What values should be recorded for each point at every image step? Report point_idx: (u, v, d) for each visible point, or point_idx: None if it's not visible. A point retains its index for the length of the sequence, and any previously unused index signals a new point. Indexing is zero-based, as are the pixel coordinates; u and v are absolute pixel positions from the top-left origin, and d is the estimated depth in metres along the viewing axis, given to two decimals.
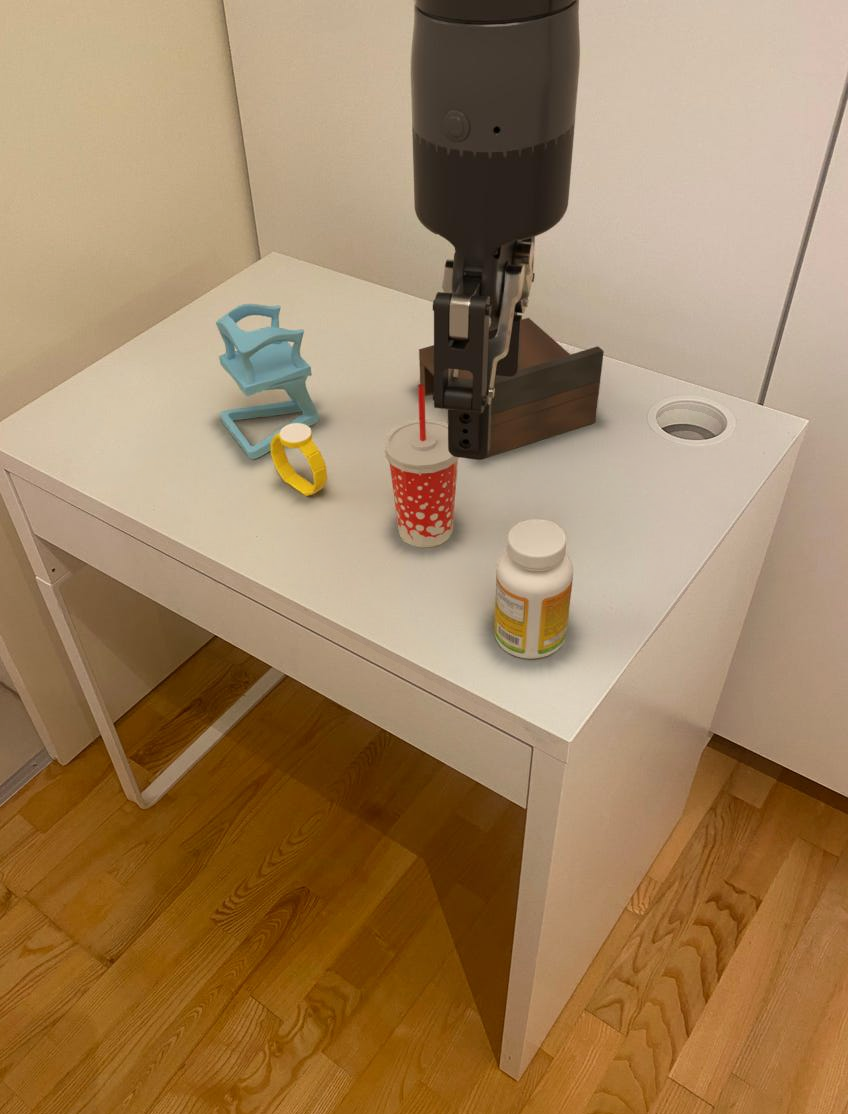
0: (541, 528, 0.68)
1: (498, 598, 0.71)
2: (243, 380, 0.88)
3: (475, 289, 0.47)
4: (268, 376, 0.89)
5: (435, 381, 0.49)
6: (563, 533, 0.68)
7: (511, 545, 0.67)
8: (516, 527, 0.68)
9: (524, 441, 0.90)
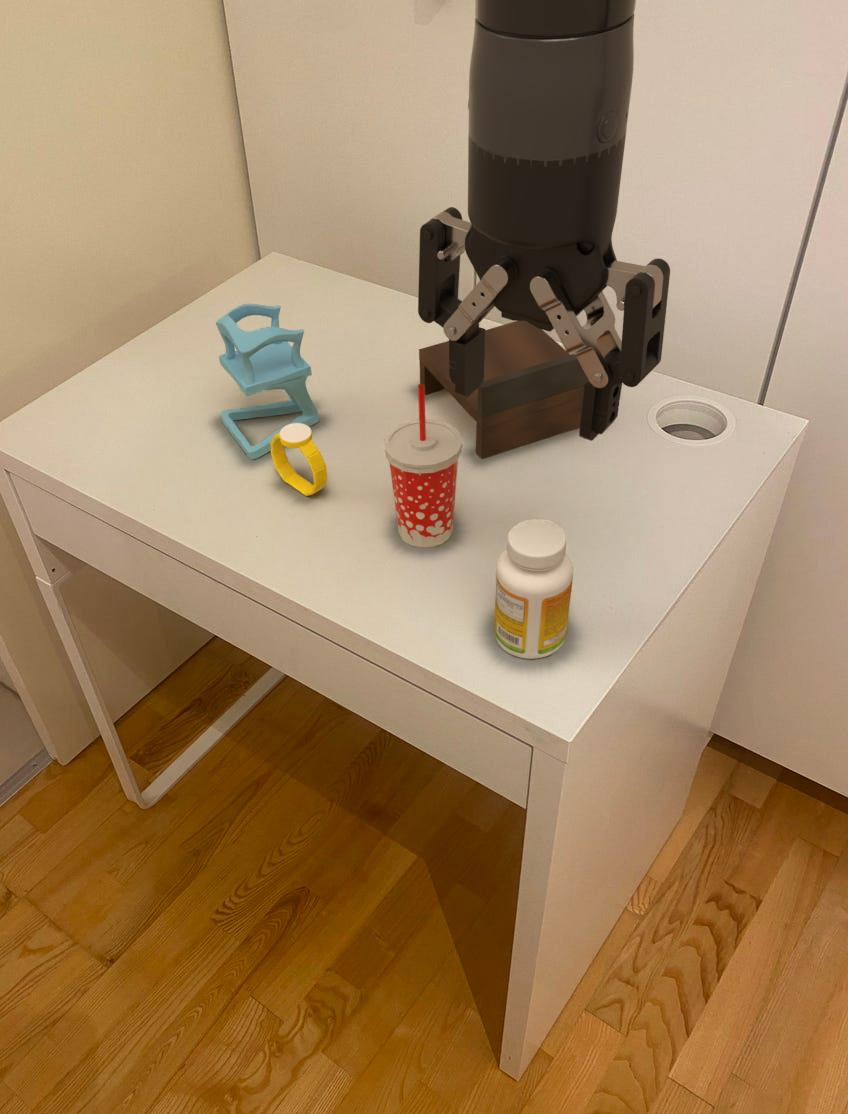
0: (541, 528, 0.68)
1: (498, 598, 0.71)
2: (243, 380, 0.88)
3: (632, 264, 0.50)
4: (268, 376, 0.89)
5: (642, 359, 0.51)
6: (563, 533, 0.67)
7: (511, 545, 0.67)
8: (516, 527, 0.68)
9: (524, 441, 0.90)
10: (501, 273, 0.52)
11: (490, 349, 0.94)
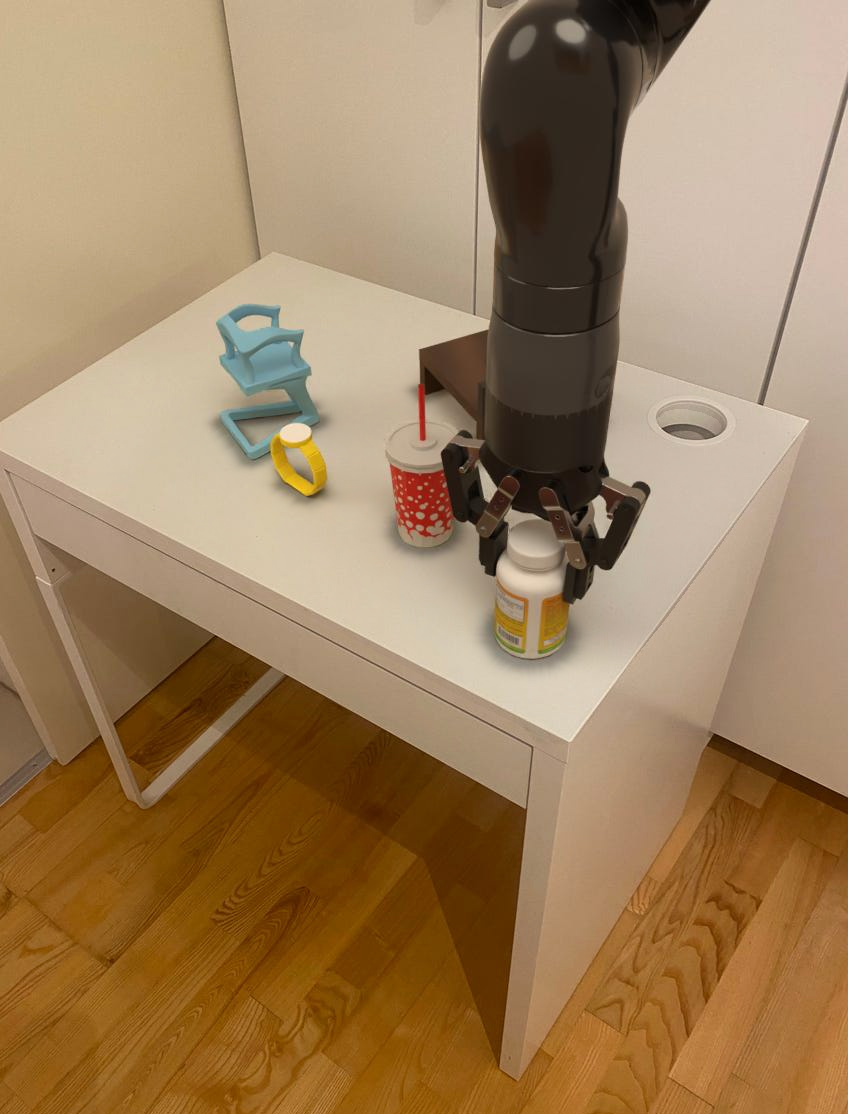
0: (541, 528, 0.68)
1: (498, 598, 0.71)
2: (243, 380, 0.88)
3: None
4: (268, 376, 0.89)
5: (618, 554, 0.63)
6: None
7: (511, 545, 0.67)
8: (516, 527, 0.68)
9: None
10: (513, 482, 0.63)
11: None
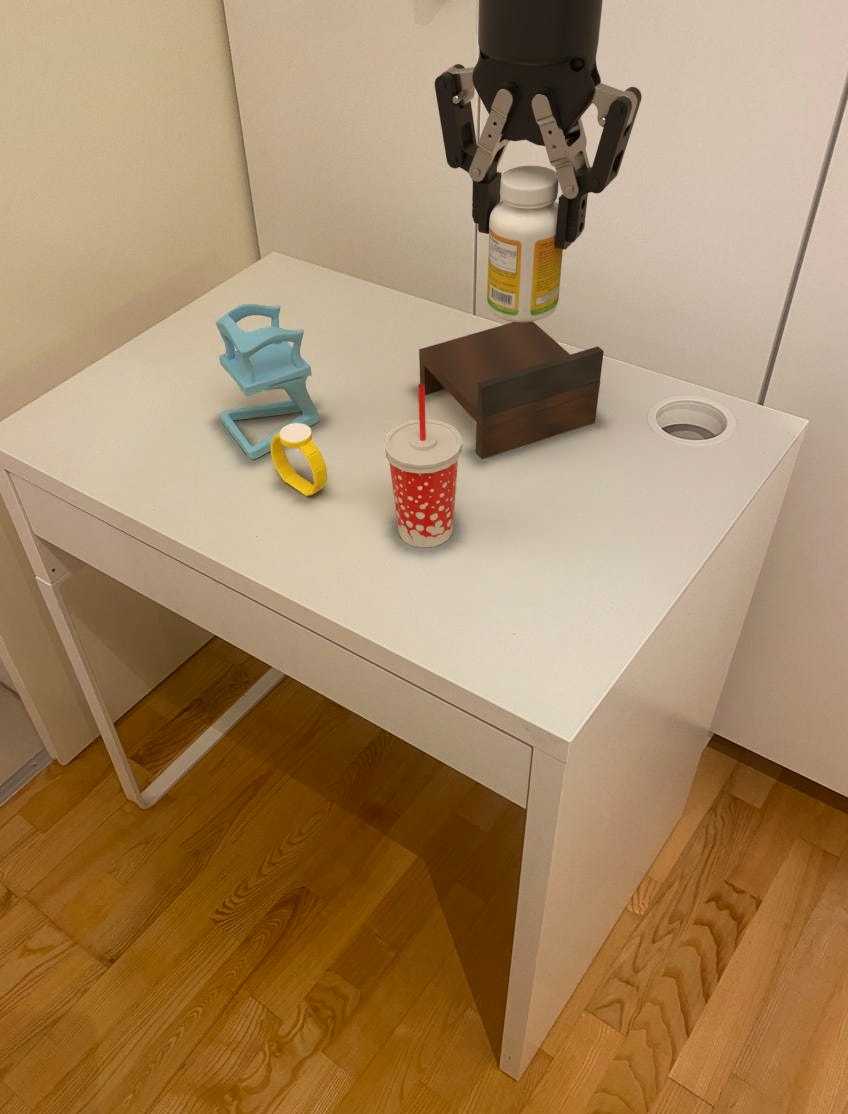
0: (533, 171, 0.69)
1: (491, 253, 0.72)
2: (243, 380, 0.88)
3: (614, 88, 0.62)
4: (268, 376, 0.89)
5: (610, 170, 0.64)
6: (555, 173, 0.68)
7: (504, 182, 0.68)
8: (509, 171, 0.69)
9: (524, 441, 0.90)
10: (507, 96, 0.64)
11: (490, 349, 0.94)
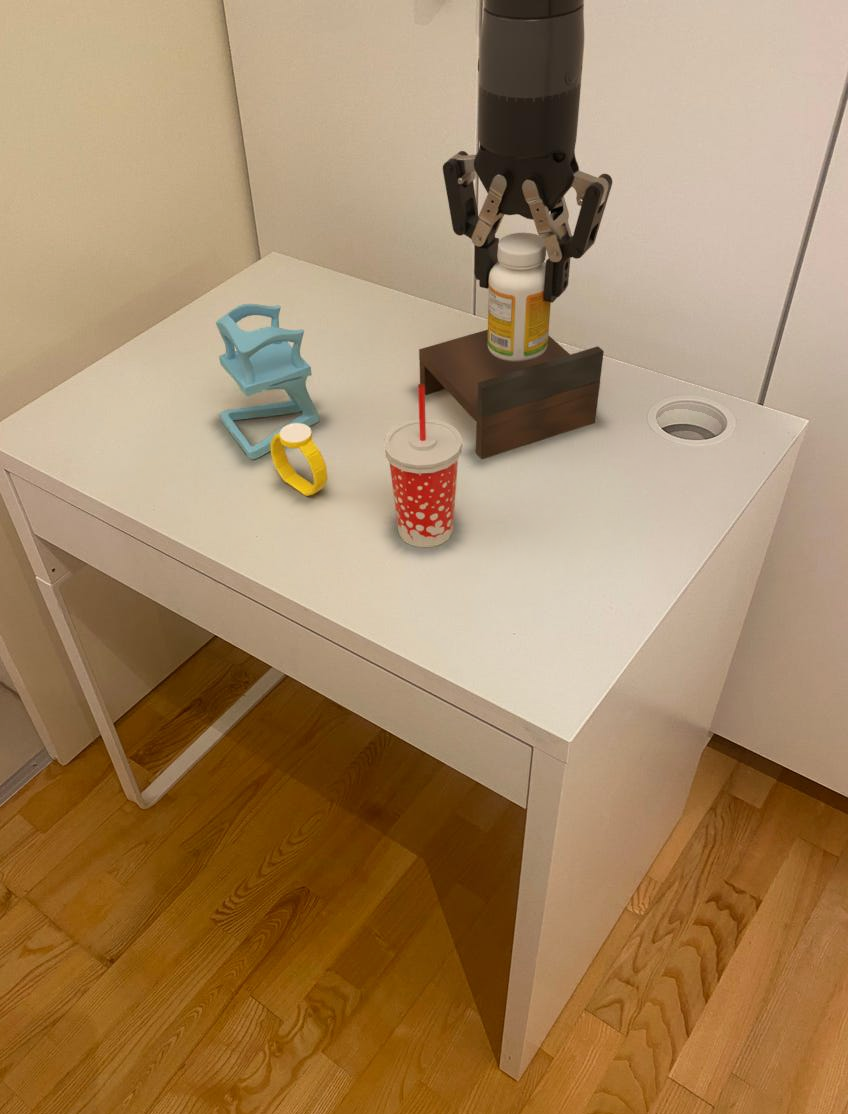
0: (525, 237, 0.83)
1: (490, 304, 0.85)
2: (243, 380, 0.88)
3: (590, 175, 0.76)
4: (268, 376, 0.89)
5: (587, 240, 0.78)
6: None
7: (500, 248, 0.82)
8: (505, 237, 0.83)
9: (524, 441, 0.90)
10: (502, 180, 0.77)
11: None
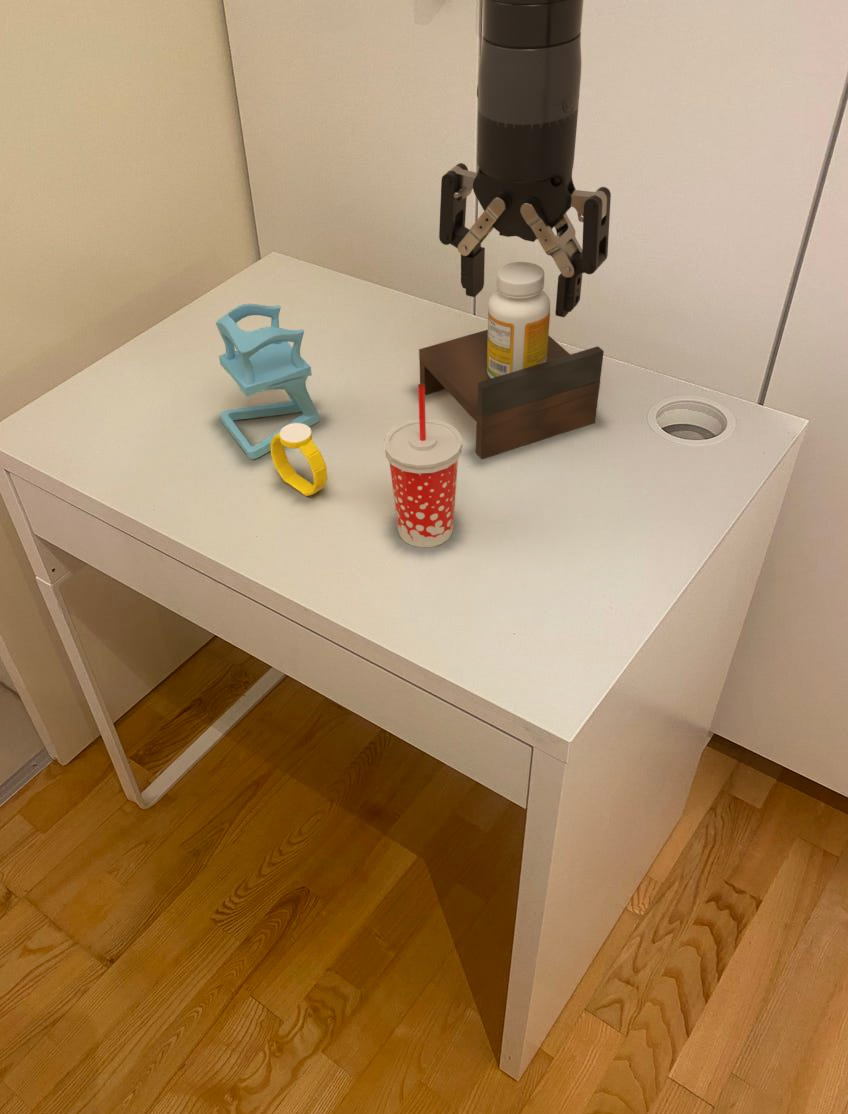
0: (524, 267, 0.84)
1: (490, 331, 0.87)
2: (243, 380, 0.88)
3: (586, 191, 0.77)
4: (268, 376, 0.89)
5: (596, 253, 0.78)
6: (541, 269, 0.84)
7: (499, 277, 0.84)
8: (504, 267, 0.85)
9: (524, 441, 0.90)
10: (500, 203, 0.79)
11: None
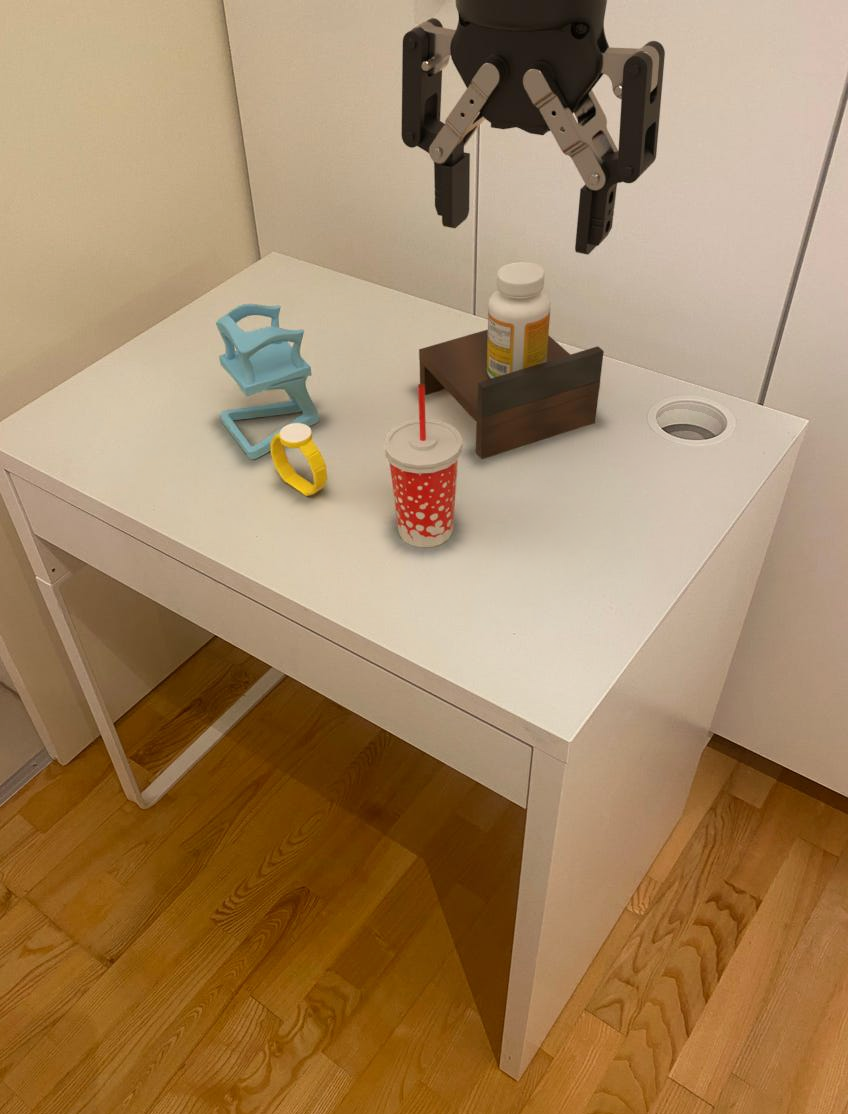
0: (524, 267, 0.84)
1: (490, 331, 0.87)
2: (243, 380, 0.88)
3: (627, 48, 0.49)
4: (268, 376, 0.89)
5: (641, 148, 0.50)
6: (541, 269, 0.84)
7: (499, 277, 0.84)
8: (504, 267, 0.85)
9: (524, 441, 0.90)
10: (492, 72, 0.51)
11: None
